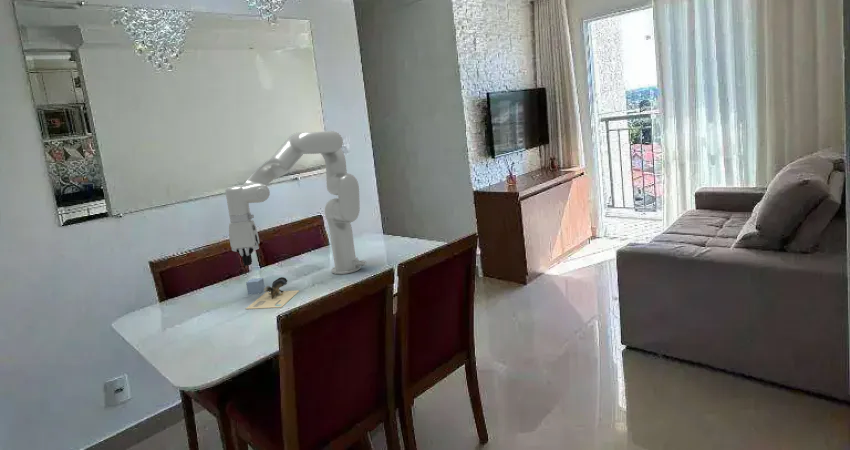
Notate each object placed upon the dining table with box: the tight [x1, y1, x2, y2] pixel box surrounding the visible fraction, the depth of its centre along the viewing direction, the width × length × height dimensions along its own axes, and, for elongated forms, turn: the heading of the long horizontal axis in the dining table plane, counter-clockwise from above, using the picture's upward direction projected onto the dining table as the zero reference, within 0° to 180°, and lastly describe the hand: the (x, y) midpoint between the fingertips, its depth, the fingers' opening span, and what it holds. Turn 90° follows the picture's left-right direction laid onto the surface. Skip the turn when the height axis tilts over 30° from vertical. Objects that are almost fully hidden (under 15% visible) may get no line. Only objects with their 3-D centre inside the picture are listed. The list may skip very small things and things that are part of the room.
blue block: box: [245, 277, 266, 295], centre depth 220 cm, size 5×5×5 cm
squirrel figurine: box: [263, 276, 288, 299], centre depth 212 cm, size 8×7×9 cm
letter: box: [245, 289, 300, 310], centre depth 208 cm, size 14×18×1 cm
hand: (248, 264), depth 211 cm, fingers closed
